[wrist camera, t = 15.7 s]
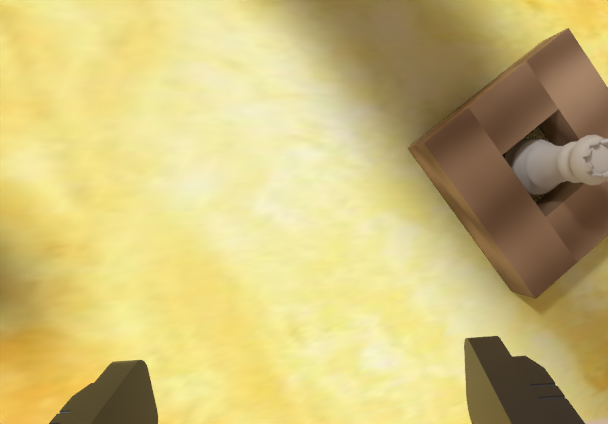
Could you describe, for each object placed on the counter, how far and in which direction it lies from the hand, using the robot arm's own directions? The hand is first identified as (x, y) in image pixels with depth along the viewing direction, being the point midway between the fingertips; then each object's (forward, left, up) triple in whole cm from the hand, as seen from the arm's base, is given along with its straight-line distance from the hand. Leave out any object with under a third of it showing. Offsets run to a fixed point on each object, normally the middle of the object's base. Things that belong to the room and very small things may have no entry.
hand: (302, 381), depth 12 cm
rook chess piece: (+7, +21, -23) cm, 32 cm away
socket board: (+7, +21, -23) cm, 32 cm away
